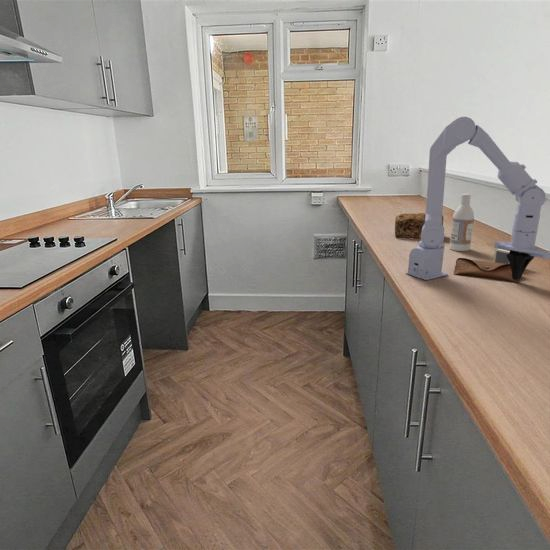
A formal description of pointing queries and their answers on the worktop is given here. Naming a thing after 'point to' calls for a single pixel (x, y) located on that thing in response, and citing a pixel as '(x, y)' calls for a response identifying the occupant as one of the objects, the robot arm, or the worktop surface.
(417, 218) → the bread
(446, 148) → the robot arm
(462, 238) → the bath foam
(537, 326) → the worktop surface
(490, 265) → the sunglasses case
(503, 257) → the cube
